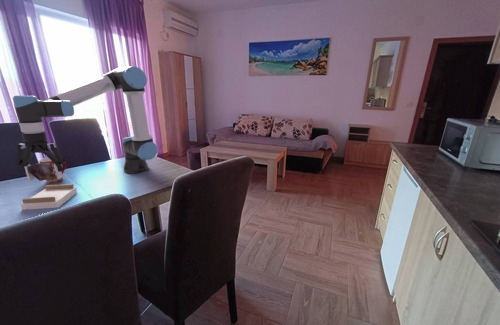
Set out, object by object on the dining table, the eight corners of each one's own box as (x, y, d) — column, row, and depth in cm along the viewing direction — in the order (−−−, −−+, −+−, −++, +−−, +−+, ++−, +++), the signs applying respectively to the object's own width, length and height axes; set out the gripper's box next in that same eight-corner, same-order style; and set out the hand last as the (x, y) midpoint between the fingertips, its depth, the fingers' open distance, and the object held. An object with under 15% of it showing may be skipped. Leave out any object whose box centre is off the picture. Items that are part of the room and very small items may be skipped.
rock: (58, 176, 112) (30, 180, 106) (55, 159, 111) (26, 162, 104) (59, 180, 104) (29, 184, 97) (55, 161, 102) (25, 165, 96)
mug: (52, 184, 126) (46, 162, 122) (40, 182, 128) (34, 160, 124) (74, 177, 137) (69, 156, 133) (63, 175, 140) (58, 154, 136)
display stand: (77, 192, 117) (75, 183, 115) (58, 207, 102) (55, 197, 100) (46, 194, 114) (43, 185, 113) (22, 209, 99) (19, 199, 98)
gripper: (68, 130, 104) (78, 174, 110) (9, 130, 99) (22, 176, 106) (58, 133, 97) (69, 180, 103) (-6, 133, 92) (9, 182, 99)
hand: (45, 178), depth 105 cm, fingers closed on rock, 11 cm apart
